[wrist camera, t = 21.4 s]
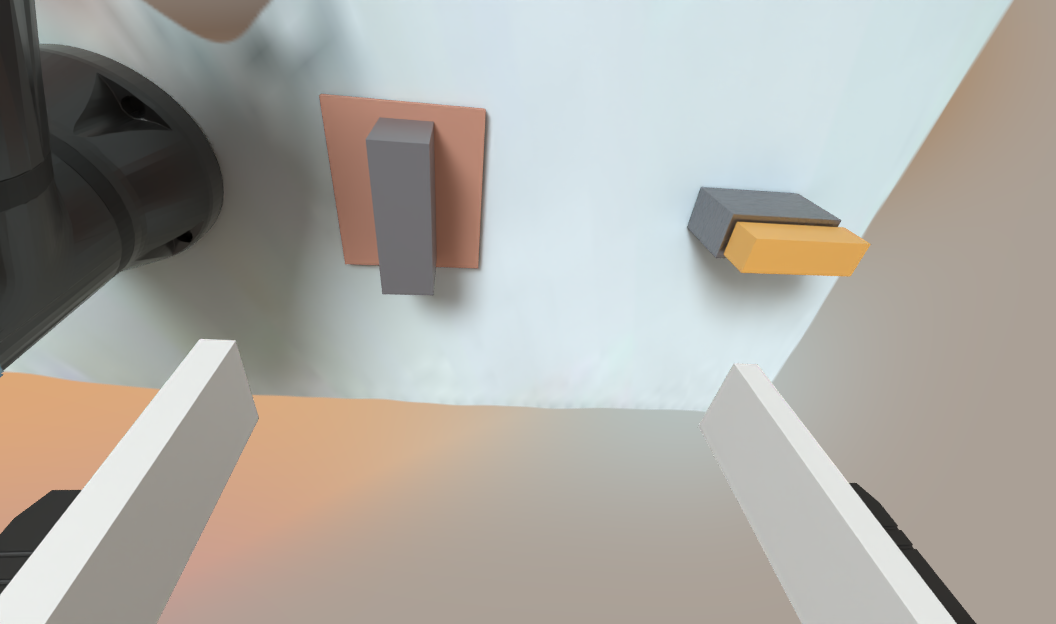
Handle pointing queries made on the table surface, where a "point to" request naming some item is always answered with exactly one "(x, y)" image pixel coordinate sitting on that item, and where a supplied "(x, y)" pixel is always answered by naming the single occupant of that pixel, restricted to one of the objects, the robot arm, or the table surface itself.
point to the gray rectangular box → (749, 213)
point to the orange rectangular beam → (794, 249)
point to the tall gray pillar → (404, 203)
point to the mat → (453, 174)
